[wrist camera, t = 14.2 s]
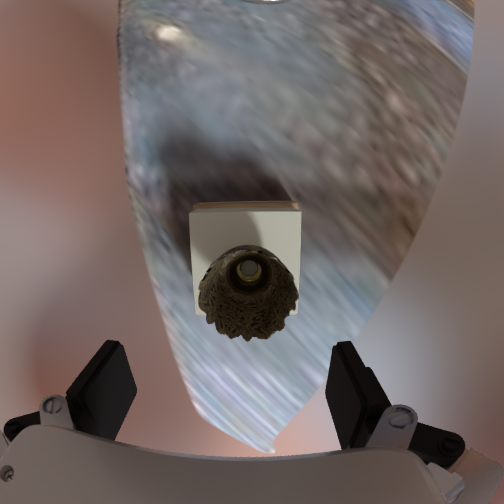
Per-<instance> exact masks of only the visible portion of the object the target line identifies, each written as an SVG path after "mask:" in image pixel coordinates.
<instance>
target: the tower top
mask: <svg viewBox="0 0 504 504" xmlns="http://www.w3.org/2000/svg"><path fill="white" fill-rule="evenodd" d="M189 227H190V245H191V260H192V274H193V286H194V297H195V307H196V315H207V314H206V313H205V312H203V311H202V310H200V308H199V305H198V296H199V292H200V290H199V289H198V288H199V284H200V281H201V280H202V279H203V278H204V275H205V273H206V271H207V270H208V269H209V267H210V265H211V264H212V263H213V262H214V261H216V260H217V259H218V258H219V257H220V256H221V255H222V254H224V253H225V252H226V251H228V250H230V249H232V248H234V247H237V246H240V245H256V246H260V247H263V248H265V249H267V250H269V251H270V252H272V253H273V254H274V255H276V256H277V257H278V258H279V259H280V260H281V262H282V263H283V264H284V265H285V266H286V267H287V269H288V270H289V271H290V272H291V273H292V275H293V277H294V283H295V286H296V288H297V290H298V294H299V274H300V246H301V211H299V210H297V209H296V208H215V209H197V210H194V211H192V212H190V213H189ZM241 271H242V273H243V274H244V275H247V276H252V275H254V274H255V273H256V271H257V265H256V263H255V262H253V261H250V260H248V261H245V262H244V263H243V264H242V265H241ZM295 303H296V309H295V311H293V310H291V311H290V314H297V312H298V300H297V301H296V302H295Z"/></svg>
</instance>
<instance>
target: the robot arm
mask: <svg viewBox="0 0 504 504" xmlns="http://www.w3.org/2000/svg"><path fill="white" fill-rule="evenodd" d="M245 1H249V2H254V3H264V4H270V3H280V2H284V1H288V0H245ZM136 393H137V387H136V384H135V381H134V378H133V375H132V372H131V370H130V366H129V363H128V360H127V356H126V353H125V350H124V347H123V345H121V344H120V342H119V341H113V340H107V341H106V342H105V343H104V344H103V345H102V346H101V348H100V349H99V350H98V351H97V353H96V354H95V355H94V356H93V358H92V359H91V360H90V362H89V363H88V364H87V365H86V367H85V368H84V369H83V371H82V372H81V373H80V374H79V376H78V377H77V378H76V379H75V381H74V382H73V383H72V385H71V386H70V387H69V389H68V390H67V391H66V394H67V396H66V397H65V398H64V397H63V396H61V395H56V394H55V395H50V396H47V397H46V398H44V399H43V400H42V401H41V403H40V407H39V410H40V411H38V412H34V413H31V414H27V415H23V416H20V417H16V418H13V419H10V420H9V421H8V422H7V423H6V424H5V426H4V432H3V433H2V432H1V430H0V504H489V503H490V501H491V499H492V498H493V496H494V494H495V493H496V491H497V489H498V487H499V485H500V484H501V482H502V480H503V477H504V468H503V466H502V465H501V464H499V463H498V462H496V461H494V460H492V459H490V458H489V457H487V456H485V455H483V454H481V453H479V452H478V451H476V450H474V449H473V448H470V449H469V450H468V449H466V448H465V442H464V440H463V438H462V437H461V436H459V435H458V434H456V433H453V432H449V431H446V430H442V429H438V428H435V427H432V426H429V425H425V424H422V423H419V422H417V421H418V416H417V413H416V412H415V411H414V410H413V409H412V408H411V407H408V406H406V405H393V406H392V405H391V403H390V401H389V400H388V398H387V396H386V394H385V392H384V390H383V389H382V387H381V385H380V383H379V382H378V380H377V378H376V376H375V375H374V373H373V371H372V369H371V368H370V367H365V365H364V363H363V362H362V360H361V358H360V356H359V354H358V353H357V351H356V349H355V347H354V346H353V344H352V342H351V341H343V342H338V343H337V345H336V346H333V348H332V355H331V361H330V367H329V373H328V379H327V384H326V390H325V394H326V399H327V402H328V406H329V409H330V412H331V415H332V419H333V422H334V425H335V429H336V432H337V435H338V439H339V442H340V445H341V449H342V450H337V451H330V452H323V453H313V454H303V455H291V456H277V457H221V456H205V455H193V454H184V453H176V452H169V451H162V450H156V449H150V448H145V447H139V446H135V445H130V444H126V443H122V442H117V441H115V438H116V436H117V434H118V432H119V430H120V428H121V425H122V423H123V421H124V419H125V417H126V415H127V412H128V410H129V408H130V406H131V404H132V402H133V400H134V398H135V396H136ZM441 492H442V493H443V494H445V497H446V502H445V500H444V498H443V495H442V493H441Z"/></svg>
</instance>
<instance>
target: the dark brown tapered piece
mask: <svg viewBox="0 0 504 504" xmlns="http://www.w3.org/2000/svg"><path fill="white" fill-rule="evenodd" d="M248 260H250V261H253V262H255V263H256V265H257V271H256V273H255V274H254V275H252V276H247V275H244V274H243V273H242V271H241V265H242V264H243V263H244V262H245V261H248ZM198 289H199V290H200V292H199V296H198V305H199V308H200V310H202V311H203V312H205V313H206V314H207V316H206V321H207V323H208V324H212V323H214V321H215V326H216V330H217V331H218V332H219V333H220V334H223V335H225V334H226V335H228V337H229V338H230V339H232V338H235V337H239V336H240V335H242V337H243V339H245V340H246V341H247V342H248V341H250V339H251V338H252V337H257V338H258V339H268V338H270V337H271V336H272V335H273V334H274V333H275V332H276V331H277V330H278V331H281V330H282V329H283V328H284V326H285V323H284V320H285V318H286V317H287V316H289V314H290V311H291V310H293V311H295V309H296V303H295V302H296V301H297V300H298V298H299V295H298V290H297V288H296V286H295V283H294V277H293V275H292V273H291V272H290V271H289V270H288V269H287V267H286V266H285V265H284V264H283V263H282V262H281V260H280V259H279V258H278V257H277V256H276V255H274V254H273V253H272V252H270V251H269V250H267V249H265V248H263V247H260V246H256V245H240V246H237V247H234V248H232V249H230V250H228V251H226V252H225V253H224V254H222V255H221V256H220V257H219V258H218V259H217V260H216V261H214V262H213V263H212V264H211V265H210V267H209V269H208V270H207V271H206V273H205V275H204V278H203V279H202V280H201V281H200V284H199V288H198Z"/></svg>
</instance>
